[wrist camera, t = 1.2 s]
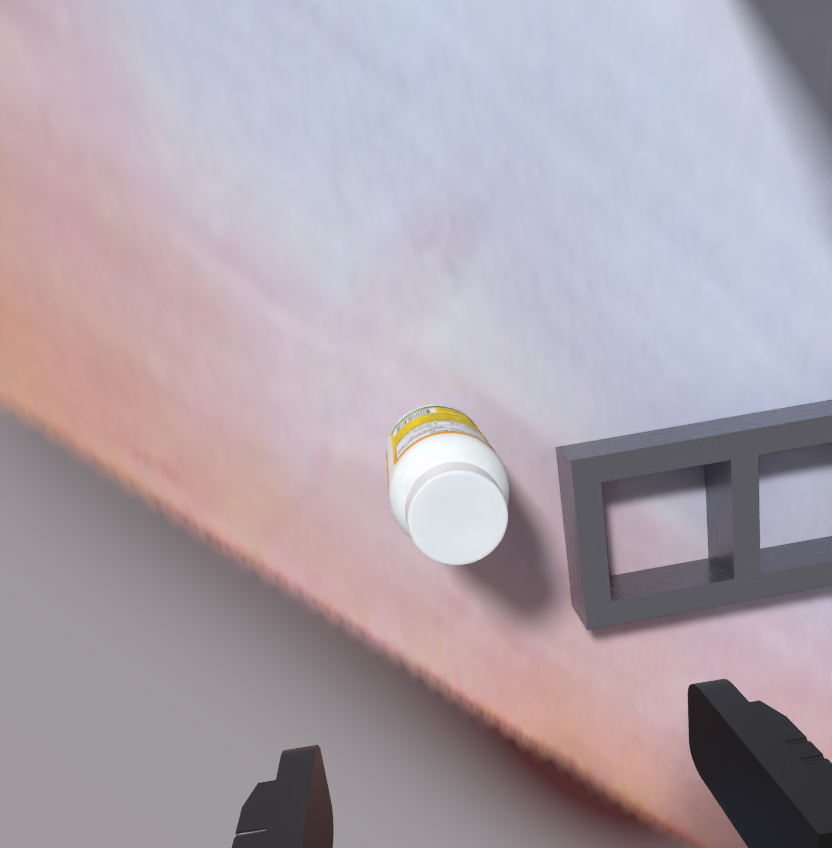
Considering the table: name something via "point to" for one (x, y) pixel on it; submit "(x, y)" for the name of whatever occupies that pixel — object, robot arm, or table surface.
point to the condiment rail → (726, 516)
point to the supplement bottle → (446, 485)
